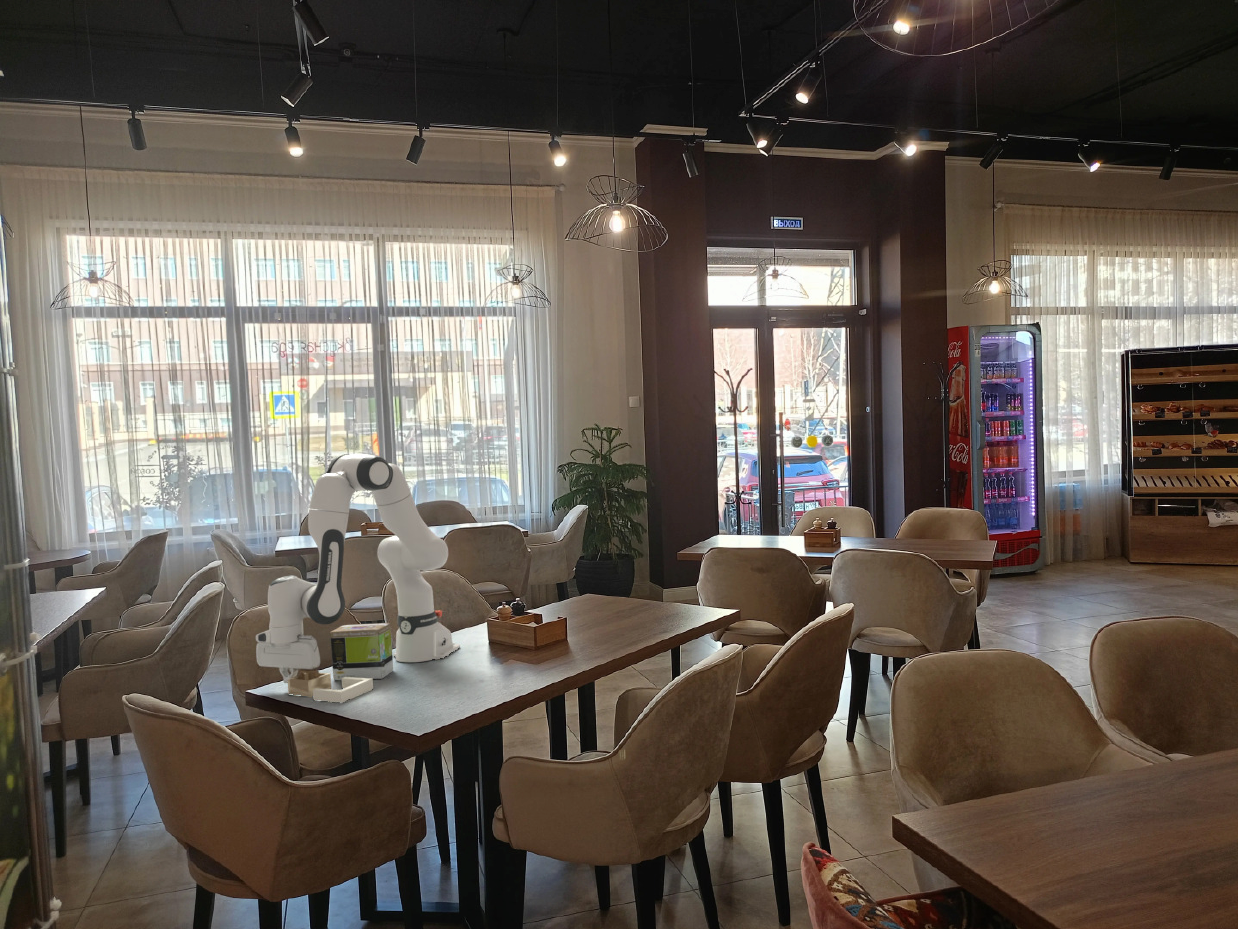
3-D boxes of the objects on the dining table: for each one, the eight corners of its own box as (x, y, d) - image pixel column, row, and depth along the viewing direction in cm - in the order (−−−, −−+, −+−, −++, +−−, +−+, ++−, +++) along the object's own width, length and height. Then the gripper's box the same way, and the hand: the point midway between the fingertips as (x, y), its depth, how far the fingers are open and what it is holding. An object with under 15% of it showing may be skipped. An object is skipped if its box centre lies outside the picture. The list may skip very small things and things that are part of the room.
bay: (345, 687, 245) (345, 676, 245) (373, 689, 241) (372, 678, 241) (313, 701, 233) (312, 690, 233) (341, 703, 229) (341, 692, 229)
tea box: (394, 670, 261) (391, 622, 261) (381, 680, 251) (378, 629, 251) (346, 672, 262) (343, 623, 262) (332, 681, 252) (329, 631, 252)
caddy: (309, 687, 247) (307, 665, 247) (331, 689, 244) (330, 667, 244) (288, 695, 239) (287, 673, 239) (311, 697, 236) (309, 675, 236)
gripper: (323, 633, 243) (326, 681, 243) (267, 630, 251) (271, 677, 251) (307, 638, 237) (310, 688, 237) (251, 635, 245) (254, 683, 245)
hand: (290, 682), depth 244 cm, fingers closed
